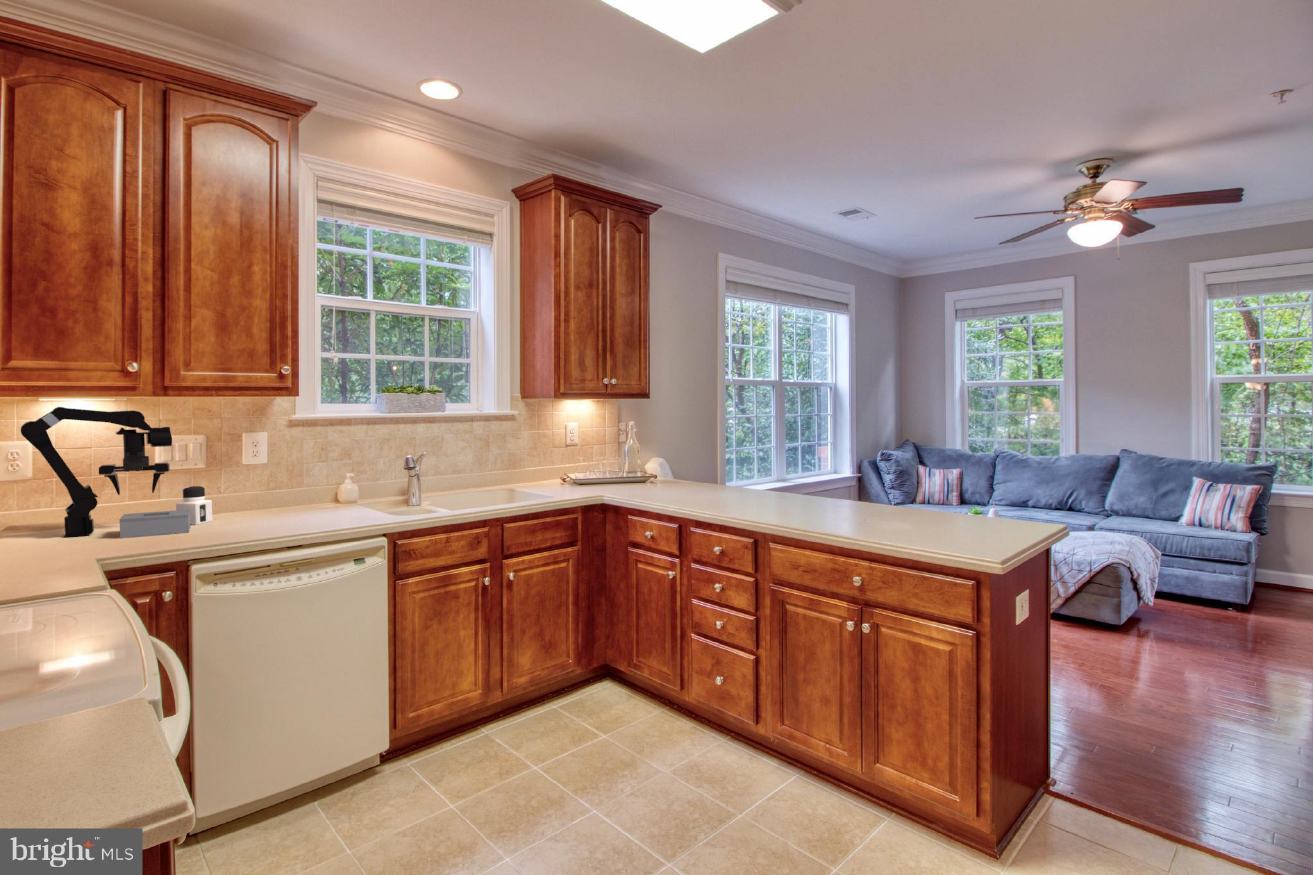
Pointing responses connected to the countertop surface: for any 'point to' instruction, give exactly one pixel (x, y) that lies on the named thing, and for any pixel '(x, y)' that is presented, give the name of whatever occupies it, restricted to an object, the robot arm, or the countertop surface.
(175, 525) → the box
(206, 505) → the container
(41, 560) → the countertop surface
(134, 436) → the robot arm
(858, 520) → the countertop surface
